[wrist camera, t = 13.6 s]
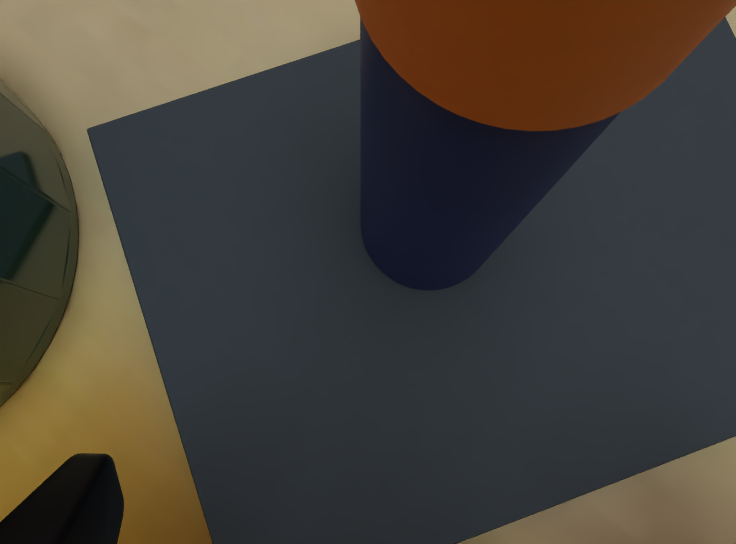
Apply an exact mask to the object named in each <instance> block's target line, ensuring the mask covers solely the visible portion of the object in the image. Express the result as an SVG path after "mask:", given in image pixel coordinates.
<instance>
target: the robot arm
mask: <svg viewBox="0 0 736 544" xmlns="http://www.w3.org/2000/svg"><path fill="white" fill-rule="evenodd" d="M123 512H124V499H123V494H122V491H121V487H120V483H119V480H118V476H117V472H116V468H115V465H114V462H113V459H112V458H111V457H110V456H109V455H107V454H90V453H81V454H76V455H74V456H72V457H70V458H69V459H68V460H67V461H66V462H65V463H64V464H62V465H61V466H60V467H59V468H58V469H57V470H56V471H55V472H54V473H53V474H52V475H51V476H50V477H48V478H47V479H46V480H45V481H44V482H43V483H42V484H41V485H40V486H39V487H38V488H37V489H36V490H34V491H33V492H32V493H31V494H30V495H29V496H28V497H27V498H26V499H25V500H24V501H23V502H22V503H20V504H19V505H18V506H17V507H16V508H15V509H14V510H13V511H12V512H11V513H10V514H9V515H8V516H6V517H5V518H4V519H3V520H2V521H1V522H0V544H117V542H118V537H119V533H120V528H121V523H122V519H123Z"/></svg>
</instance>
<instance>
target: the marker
mask: <svg viewBox="0 0 736 544" xmlns="http://www.w3.org/2000/svg"><path fill="white" fill-rule="evenodd" d="M355 2H356V5H357V8H358V11H359V14H360V184H361V234H362V239H363V242H364V246H365V248H366V250H367V253H368V255H369V256H370V258H371V259H372V261H373V262H374V264H375V265H376V266H377V267H378V268H379V269H380V270H381V271H382V272H383V273H384V274H385V275H386V276H388V277H389V278H391V279H392V280H394V281H395V282H397V283H399V284H401V285H404V286H407V287H409V288H414V289H418V290H439V289H445V288H448V287H452V286H454V285H457V284H459V283H461V282H463V281H464V280H466V279H468V278H469V277H470V276H471V275H473V274H474V273H475V272H476V271H477V270H478V269H479V268H480V267H481V266H482V265H483V263H484V262H485V261H486V260H487V259H488V258H489V257H490V256H491V255H492V254H493V252H494V251H495V250H496V249H497V248H498V247H499V246H500V245H501V244H502V243H503V241H504V240H505V239H506V238H507V237H508V236H509V235H510V234H511V233H512V232H513V230H514V229H515V228H516V227H517V226H518V225H519V224H520V223H521V222H522V220H523V219H524V218H525V217H526V216H527V215H528V214H529V213H530V212H531V211H532V209H533V208H534V207H535V206H536V205H537V204H538V203H539V202H540V201H541V200H542V198H543V197H544V196H545V195H546V194H547V193H548V192H549V191H550V190H551V189H552V187H553V186H554V185H555V184H556V183H557V182H558V181H559V180H560V179H561V177H562V176H563V175H564V174H565V173H566V172H567V171H568V170H569V169H570V168H571V166H572V165H573V164H574V163H575V162H576V161H577V160H578V159H579V158H580V157H581V155H582V154H583V153H584V152H585V151H586V150H587V149H588V148H589V147H590V146H591V144H592V143H593V142H594V141H595V140H596V139H597V138H598V137H599V136H600V135H601V133H602V132H603V131H604V130H605V129H606V128H607V127H608V126H609V125H610V123H611V122H612V121H613V120H614V119H615V118H616V117H617V116H618V115H619V114H620V112H621V111H624V110H625V109H627V108H629V107H630V106H632V105H633V104H635V103H637V102H638V101H640V100H642V99H643V98H644V97H646V96H647V95H648V94H649V93H651V92H652V91H653V90H654V89H655V88H657V87H658V86H659V85H660V84H661V83H662V82H663V81H664V80H665V79H666V78H667V77H668V76H669V75H670V74H671V73H672V72H673V71H674V70H675V69H676V68H677V67H678V66H679V64H680V63H681V62H682V61H683V60H684V59H685V58H686V57H687V56H688V55H689V54H690V53H691V52H692V51H693V50H694V49H695V48H696V47H697V46H698V45H699V44H700V42H701V41H702V40H703V39H704V38H705V37H706V36H707V35H708V34H709V33H710V32H711V31H712V30H713V29H714V28H715V27H716V26H717V25H718V24H719V23H720V21H721V20H722V19H723V18H724V17H725V16H726V15H727V14H728V13H729V12H730V11H731V10H732V9H733V8H734V7H735V6H736V0H355Z"/></svg>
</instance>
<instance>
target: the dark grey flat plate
mask: <svg viewBox="0 0 736 544" xmlns="http://www.w3.org/2000/svg"><path fill="white" fill-rule="evenodd" d="M87 132H88V135H89V139H90V142H91V145H92V148H93V152H94V155H95V158H96V162H97V165H98V168H99V171H100V175H101V178H102V181H103V185H104V188H105V191H106V194H107V198H108V201H109V204H110V208H111V211H112V214H113V217H114V221H115V224H116V227H117V231H118V234H119V237H120V240H121V244H122V247H123V250H124V254H125V257H126V260H127V263H128V267H129V270H130V273H131V277H132V280H133V283H134V286H135V290H136V293H137V296H138V299H139V303H140V306H141V309H142V313H143V316H144V319H145V322H146V326H147V329H148V332H149V336H150V339H151V342H152V345H153V349H154V352H155V355H156V359H157V362H158V365H159V368H160V372H161V375H162V378H163V382H164V385H165V388H166V391H167V395H168V398H169V401H170V405H171V408H172V411H173V414H174V418H175V421H176V424H177V428H178V431H179V434H180V437H181V441H182V444H183V447H184V451H185V454H186V457H187V460H188V464H189V467H190V470H191V474H192V477H193V480H194V483H195V487H196V490H197V493H198V497H199V500H200V503H201V506H202V510H203V513H204V516H205V520H206V523H207V526H208V529H209V533H210V536H211V539H212V543H213V544H457V543H459V542H462V541H465V540H467V539H470V538H472V537H475V536H478V535H480V534H483V533H485V532H488V531H491V530H493V529H496V528H498V527H501V526H504V525H506V524H509V523H511V522H514V521H516V520H519V519H522V518H524V517H527V516H529V515H532V514H535V513H537V512H540V511H542V510H545V509H548V508H550V507H553V506H555V505H558V504H561V503H563V502H566V501H568V500H571V499H574V498H576V497H579V496H581V495H584V494H587V493H589V492H592V491H594V490H597V489H600V488H602V487H605V486H607V485H610V484H613V483H615V482H618V481H620V480H623V479H625V478H628V477H631V476H633V475H636V474H638V473H641V472H644V471H646V470H649V469H651V468H654V467H657V466H659V465H662V464H664V463H667V462H670V461H672V460H675V459H677V458H680V457H683V456H685V455H688V454H690V453H693V452H696V451H698V450H701V449H703V448H706V447H709V446H711V445H714V444H716V443H719V442H722V441H724V440H727V439H729V438H732V437H735V436H736V38H735V36H734V34H733V32H732V30H731V28H730V26H729V24H728V22H727V20H726V17H724V18H723V19H722V20H721V21H720V23H719V24H718V25H717V26H716V27H715V28H714V29H713V30H712V31H711V32H710V33H709V34H708V35H707V36H706V37H705V38H704V39H703V40H702V41H701V42H700V44H699V45H698V46H697V47H696V48H695V49H694V50H693V51H692V52H691V53H690V54H689V55H688V56H687V57H686V58H685V59H684V60H683V61H682V62H681V63H680V64H679V66H678V67H677V68H676V69H675V70H674V71H673V72H672V73H671V74H670V75H669V76H668V77H667V78H666V79H665V80H664V81H663V82H662V83H661V84H660V85H659V86H658V87H657V88H655V89H654V90H653V91H652V92H651V93H649V94H648V95H647V96H646V97H644V98H643V99H642V100H640V101H638V102H637V103H635V104H633V105H632V106H630V107H629V108H627V109H625V110H624V111H621V112H620V114H619V115H618V116H617V117H616V118H615V119H614V120H613V121H612V122H611V123H610V125H609V126H608V127H607V128H606V129H605V130H604V131H603V132H602V133H601V135H600V136H599V137H598V138H597V139H596V140H595V141H594V142H593V143H592V144H591V146H590V147H589V148H588V149H587V150H586V151H585V152H584V153H583V154H582V155H581V157H580V158H579V159H578V160H577V161H576V162H575V163H574V164H573V165H572V166H571V168H570V169H569V170H568V171H567V172H566V173H565V174H564V175H563V176H562V177H561V179H560V180H559V181H558V182H557V183H556V184H555V185H554V186H553V187H552V189H551V190H550V191H549V192H548V193H547V194H546V195H545V196H544V197H543V198H542V200H541V201H540V202H539V203H538V204H537V205H536V206H535V207H534V208H533V209H532V211H531V212H530V213H529V214H528V215H527V216H526V217H525V218H524V219H523V220H522V222H521V223H520V224H519V225H518V226H517V227H516V228H515V229H514V230H513V232H512V233H511V234H510V235H509V236H508V237H507V238H506V239H505V240H504V241H503V243H502V244H501V245H500V246H499V247H498V248H497V249H496V250H495V251H494V252H493V254H492V255H491V256H490V257H489V258H488V259H487V260H486V261H485V262H484V263H483V265H482V266H481V267H480V268H479V269H478V270H477V271H476V272H475V273H474V274H473V275H471V276H470V277H469V278H468V279H466V280H464V281H463V282H461V283H459V284H457V285H454V286H452V287H448V288H445V289H439V290H418V289H414V288H409V287H407V286H404V285H401V284H399V283H397V282H395V281H394V280H392V279H391V278H389V277H388V276H386V275H385V274H384V273H383V272H382V271H381V270H380V269H379V268H378V267H377V266H376V265H375V264H374V262H373V261H372V259H371V258H370V256H369V255H368V253H367V250H366V248H365V246H364V242H363V239H362V234H361V184H360V40H357V41H354V42H351V43H348V44H345V45H342V46H339V47H336V48H333V49H330V50H327V51H324V52H321V53H318V54H315V55H312V56H308V57H305V58H302V59H299V60H296V61H293V62H290V63H287V64H284V65H281V66H278V67H275V68H272V69H269V70H266V71H263V72H260V73H256V74H253V75H250V76H247V77H244V78H241V79H238V80H235V81H232V82H229V83H226V84H223V85H220V86H217V87H214V88H211V89H208V90H204V91H201V92H198V93H195V94H192V95H189V96H186V97H183V98H180V99H177V100H174V101H171V102H168V103H165V104H162V105H159V106H156V107H152V108H149V109H146V110H143V111H140V112H137V113H134V114H131V115H128V116H125V117H122V118H119V119H116V120H113V121H110V122H107V123H104V124H100V125H97V126H94V127H91V128H88V129H87Z"/></svg>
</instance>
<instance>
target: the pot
mask: <svg viewBox="0 0 736 544" xmlns="http://www.w3.org/2000/svg"><path fill="white" fill-rule="evenodd" d="M77 247H78V223H77V210H76V203H75V199H74V194H73V190H72V185H71V181H70V178H69V175H68V173H67V170H66V167H65V165H64V162H63V159H62V157H61V155H60V153H59V151H58V149H57V147H56V145H55V144H54V142H53V140H52V138H51V136H50V135H49V133H48V132H47V130H46V129H45V128H44V126H43V125H42V124H41V122H40V121H39V120H38V118H37V117H36V116H35V114H34V113H33V112H32V111H31V110H30V109H29V108H28V107H27V106H26V105H25V104H24V103H23V102H22V101H21V100H20V99H19V98H18V97H17V96H16V95H15V94H14V93H13V92H12V91H11V90H10V89H9V88H8V87H7V85H6V84H5V83H4V82H3V81H2V80H1V79H0V406H1V405H2V404H3V403H4V402H5V401H6V400H7V399H8V398H9V397H10V396H11V395H12V394H13V393H14V392H15V391H16V389H17V388H18V387H19V386H20V385H21V383H22V382H23V381H24V380H25V378H26V377H27V376H28V375H29V374H30V372H31V371H32V370H33V369H34V367H35V365H36V364H37V362H38V361H39V359H40V358H41V356H42V354H43V353H44V351H45V350H46V348H47V347H48V345H49V344H50V341H51V339H52V337H53V335H54V333H55V331H56V329H57V327H58V325H59V323H60V320H61V318H62V316H63V313H64V310H65V307H66V304H67V301H68V298H69V295H70V292H71V288H72V283H73V278H74V273H75V268H76V262H77Z"/></svg>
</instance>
